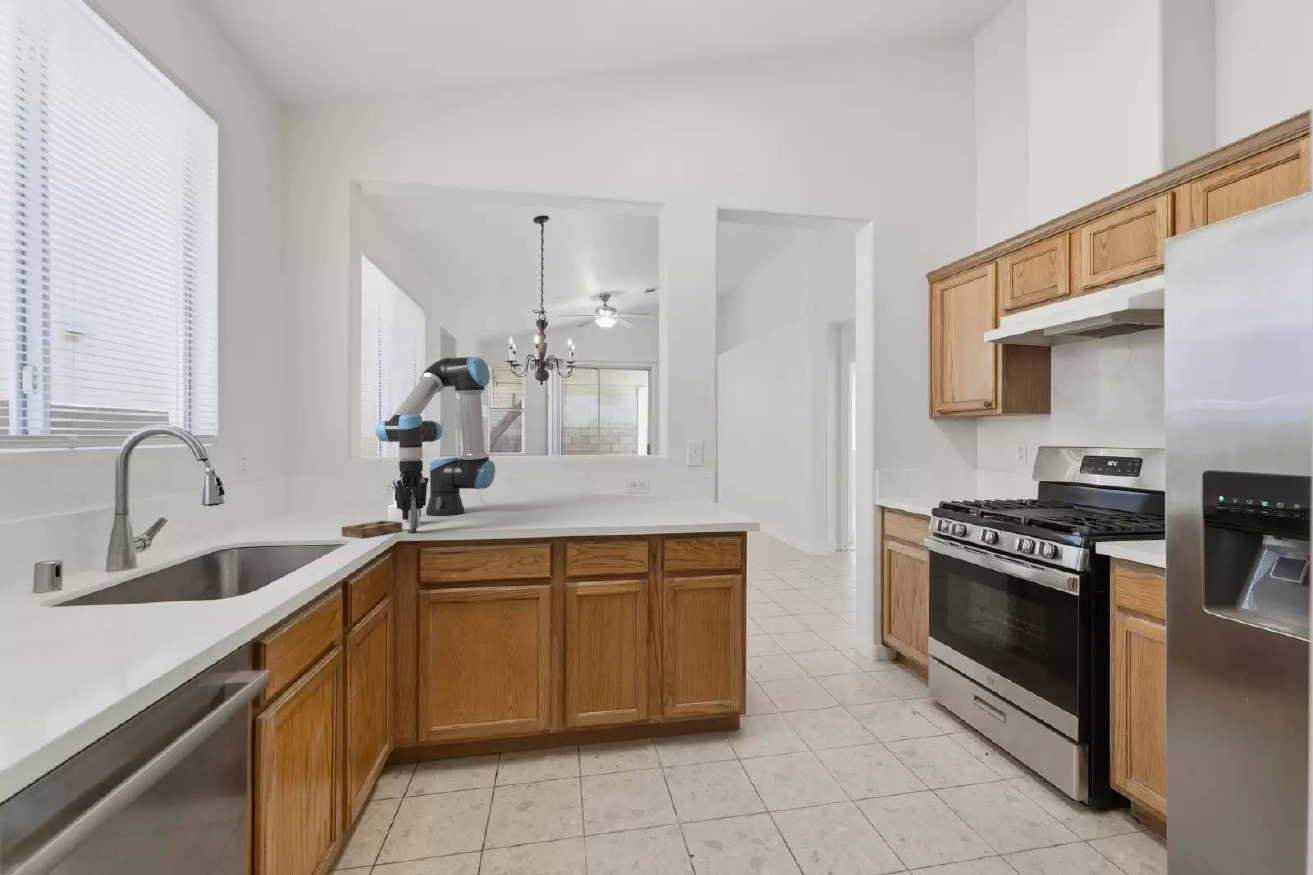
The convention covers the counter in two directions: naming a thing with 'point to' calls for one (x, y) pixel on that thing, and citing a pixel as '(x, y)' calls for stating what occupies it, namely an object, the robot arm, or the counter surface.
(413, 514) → the pin
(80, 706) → the counter surface
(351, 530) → the hole block
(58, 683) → the counter surface
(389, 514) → the container
